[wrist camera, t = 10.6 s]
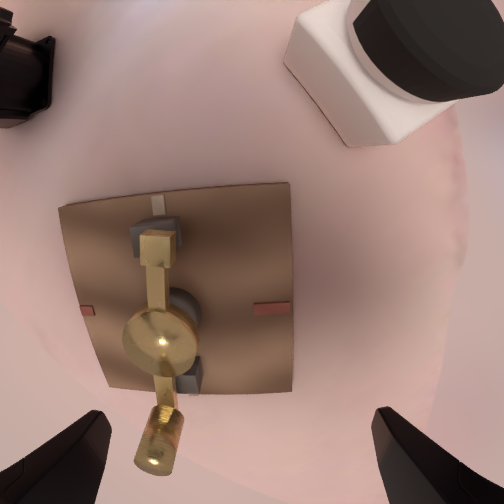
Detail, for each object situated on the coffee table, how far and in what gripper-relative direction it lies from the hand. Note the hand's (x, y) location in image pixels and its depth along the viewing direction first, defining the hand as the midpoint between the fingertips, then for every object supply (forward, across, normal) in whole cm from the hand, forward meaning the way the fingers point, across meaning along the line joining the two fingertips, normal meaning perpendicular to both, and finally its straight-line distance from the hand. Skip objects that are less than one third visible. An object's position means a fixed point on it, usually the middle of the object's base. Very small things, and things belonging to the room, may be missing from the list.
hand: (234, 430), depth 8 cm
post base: (+13, +5, +2) cm, 14 cm away
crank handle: (+9, +5, +3) cm, 11 cm away
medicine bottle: (+13, -8, -13) cm, 20 cm away
